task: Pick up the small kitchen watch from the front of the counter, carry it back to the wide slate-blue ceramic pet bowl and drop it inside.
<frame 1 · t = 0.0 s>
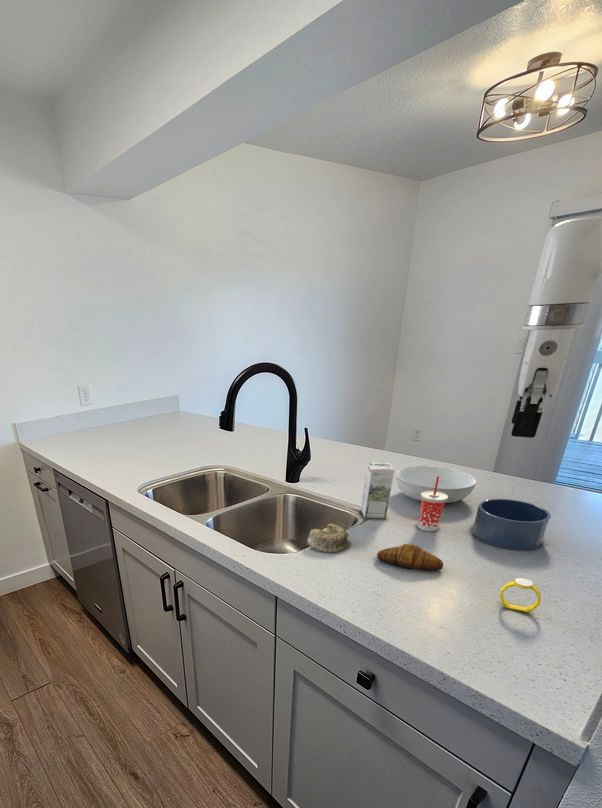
hand: (522, 429, 74), 32 cm above the worktop, tool pointing down, fingers open, 9 cm apart
croissant: (408, 565, 97), on the worktop
blue pet bowl: (505, 536, 107), on the worktop
beverage cup: (427, 528, 113), on the worktop
serving bowl: (430, 498, 130), on the worktop
beige coiled mound: (327, 543, 108), on the worktop
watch: (515, 609, 82), on the worktop
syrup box: (373, 515, 122), on the worktop
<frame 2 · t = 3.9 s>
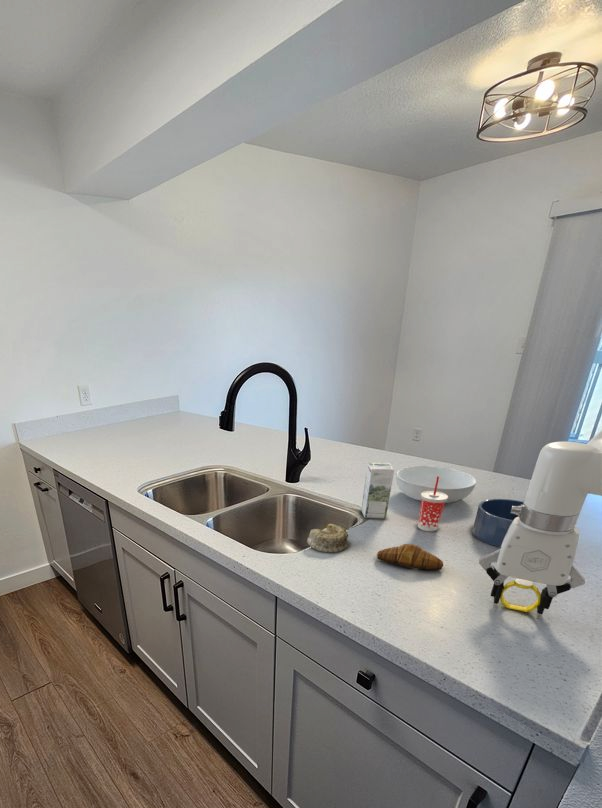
hand: (517, 604, 81), 1 cm above the worktop, tool pointing down, fingers closed on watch, 6 cm apart
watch: (515, 609, 82), on the worktop, touching gripper
everything else where it was.
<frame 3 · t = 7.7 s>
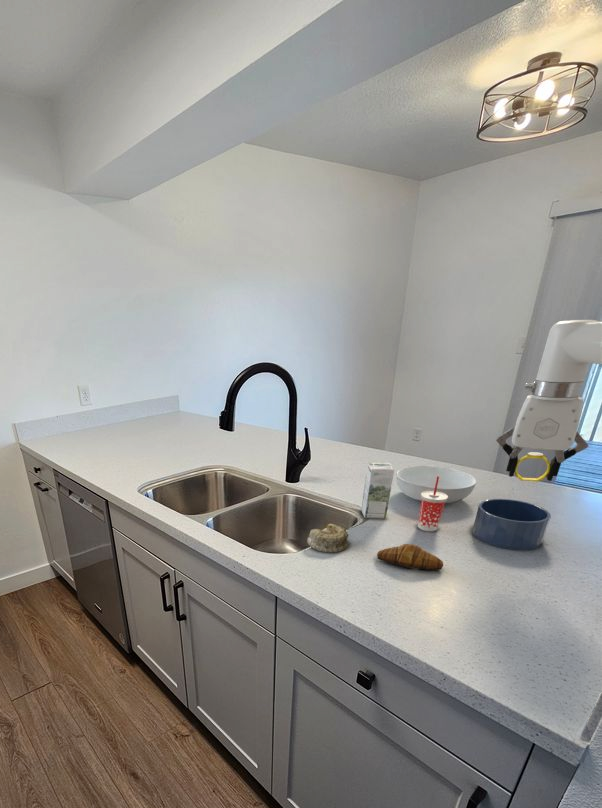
hand: (529, 476, 94), 18 cm above the worktop, tool pointing down, fingers closed on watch, 6 cm apart
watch: (528, 481, 94), point 16 cm above the worktop, touching gripper
everything else where it was.
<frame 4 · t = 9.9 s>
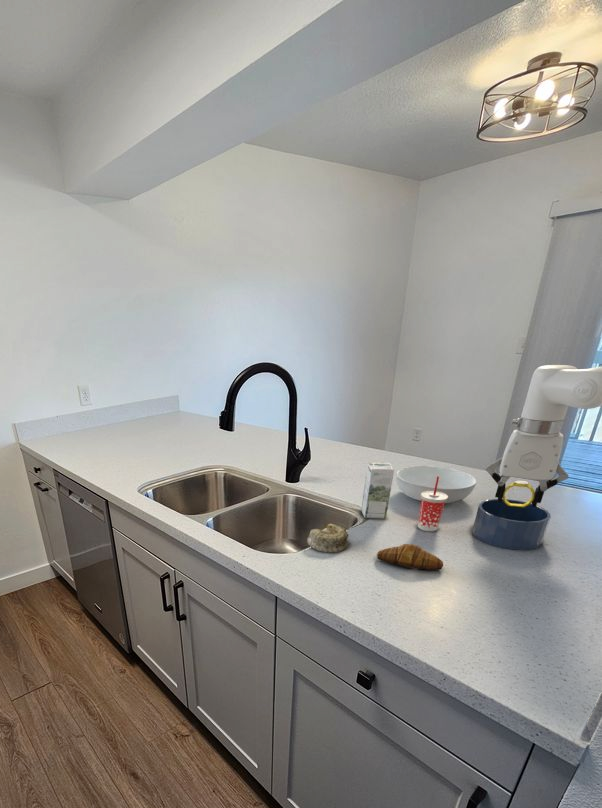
hand: (516, 502, 103), 9 cm above the worktop, tool pointing down, fingers closed on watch, 6 cm apart
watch: (515, 506, 103), point 8 cm above the worktop, touching gripper
everything else where it was.
when the fingers open (6 cm above the worktop, at t = 11.3 s): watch drops 4 cm, resting on blue pet bowl.
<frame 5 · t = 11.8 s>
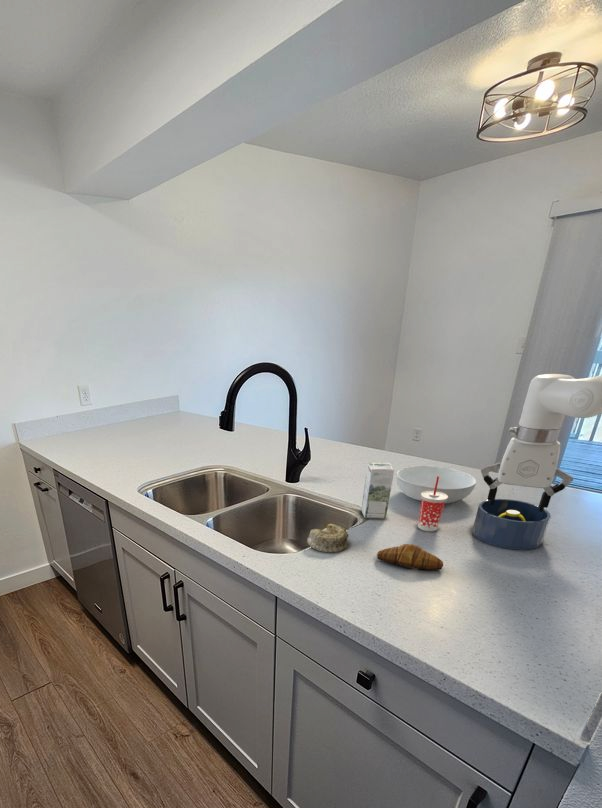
hand: (515, 506, 103), 8 cm above the worktop, tool pointing down, fingers open, 9 cm apart
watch: (506, 534, 106), resting on blue pet bowl
everything else where it was.
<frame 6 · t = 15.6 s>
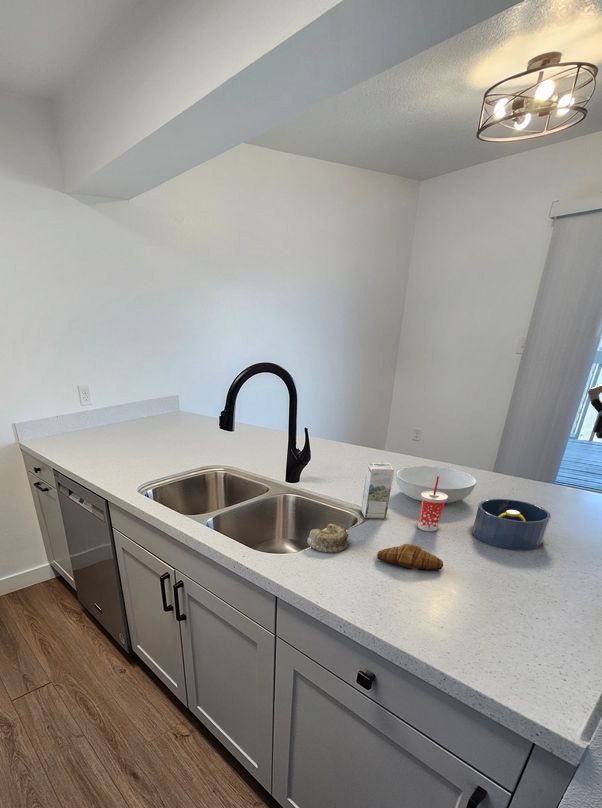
nothing on the worktop moved.
at the end: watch inside the target area in the blue pet bowl (0.2 cm from its centre), point 0.4 cm above the blue pet bowl's base; the gripper is holding nothing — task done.
